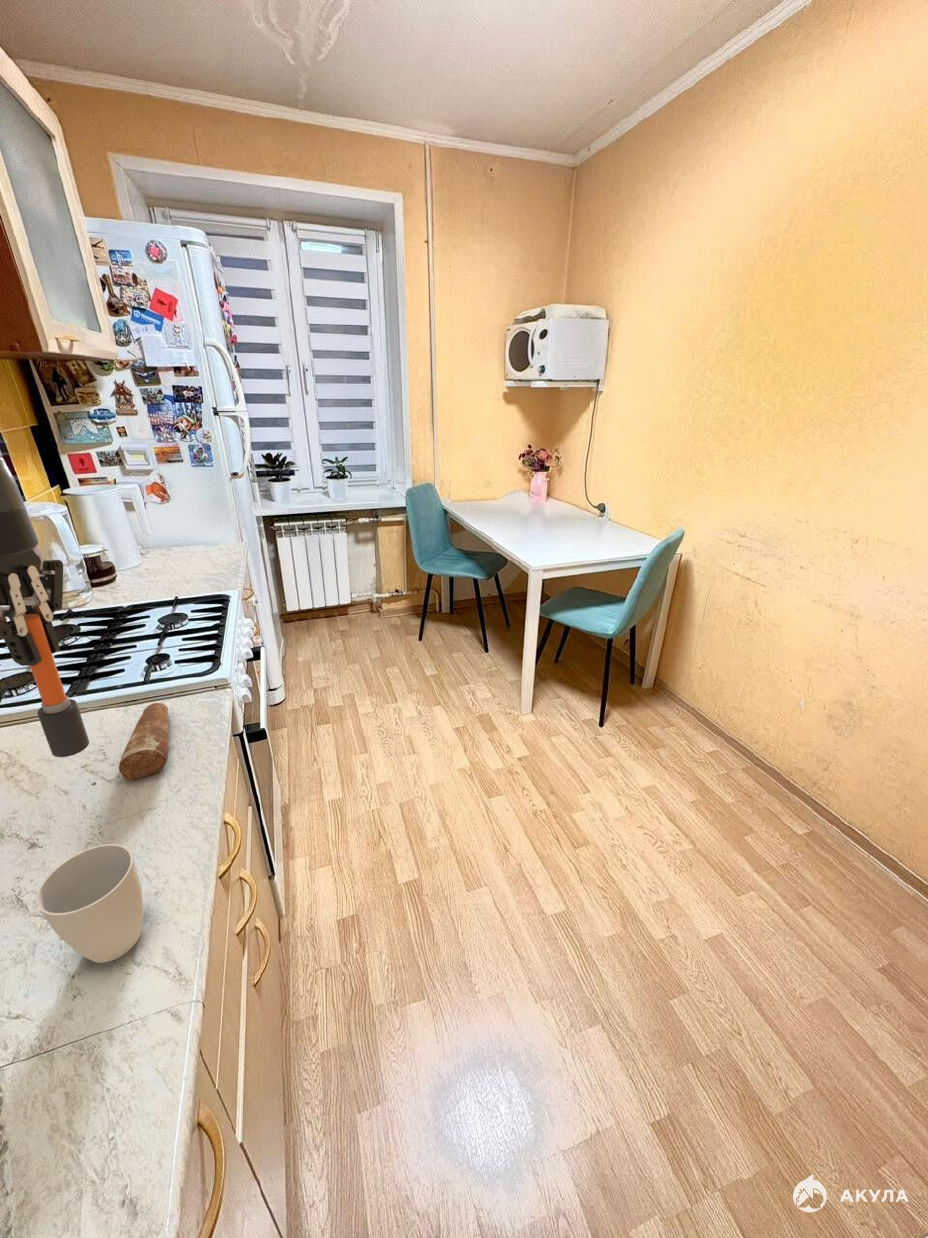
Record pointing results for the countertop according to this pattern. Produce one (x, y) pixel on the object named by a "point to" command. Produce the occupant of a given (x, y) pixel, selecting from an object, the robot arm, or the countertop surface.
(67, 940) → the cup
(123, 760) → the bread
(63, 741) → the brush
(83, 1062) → the countertop surface
